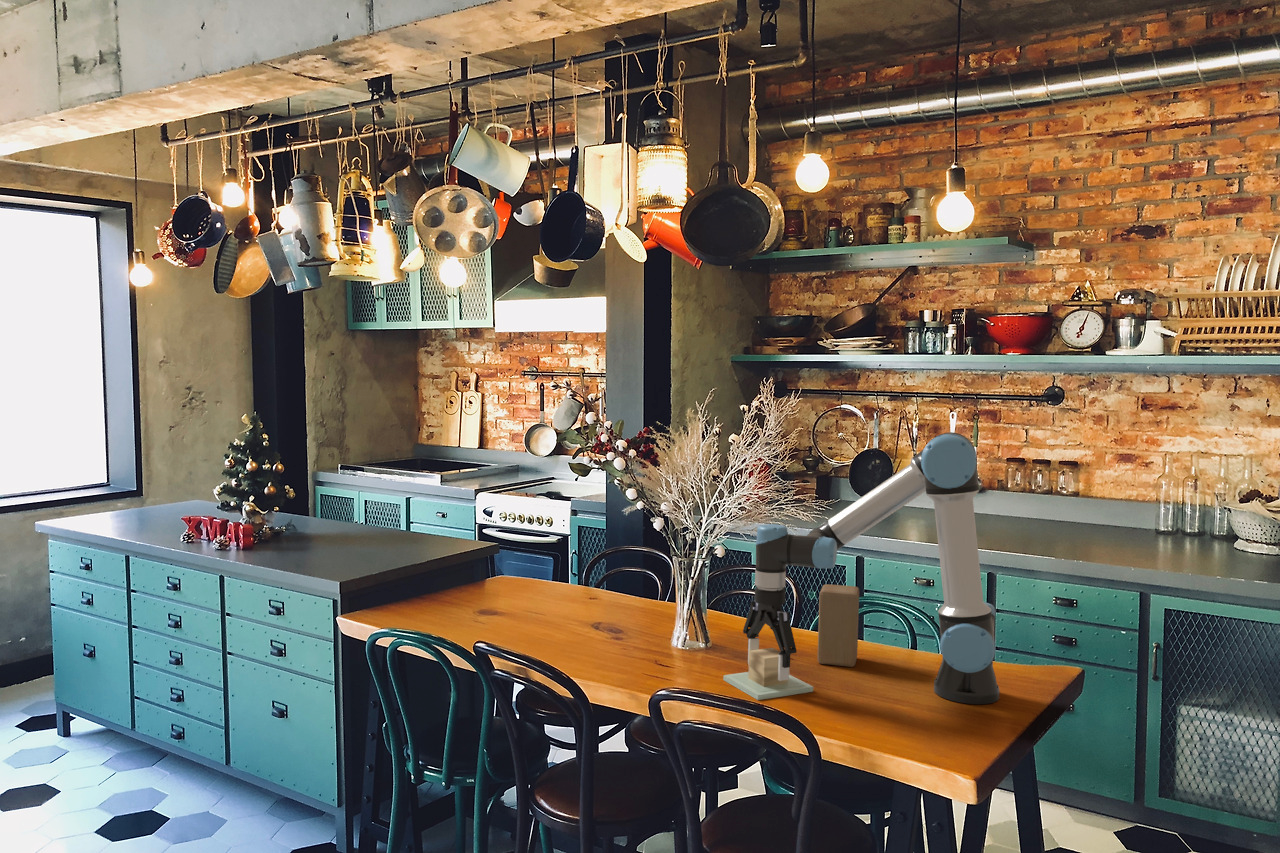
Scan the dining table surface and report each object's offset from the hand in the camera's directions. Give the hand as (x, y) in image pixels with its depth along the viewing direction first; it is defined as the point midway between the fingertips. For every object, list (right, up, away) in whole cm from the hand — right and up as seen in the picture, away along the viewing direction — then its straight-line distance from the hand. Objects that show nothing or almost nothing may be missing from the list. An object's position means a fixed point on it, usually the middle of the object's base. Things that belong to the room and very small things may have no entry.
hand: (767, 671), depth 234 cm
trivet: (0, -4, 0) cm, 3 cm away
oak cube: (0, -2, 0) cm, 2 cm away
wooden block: (+22, -3, +22) cm, 31 cm away
